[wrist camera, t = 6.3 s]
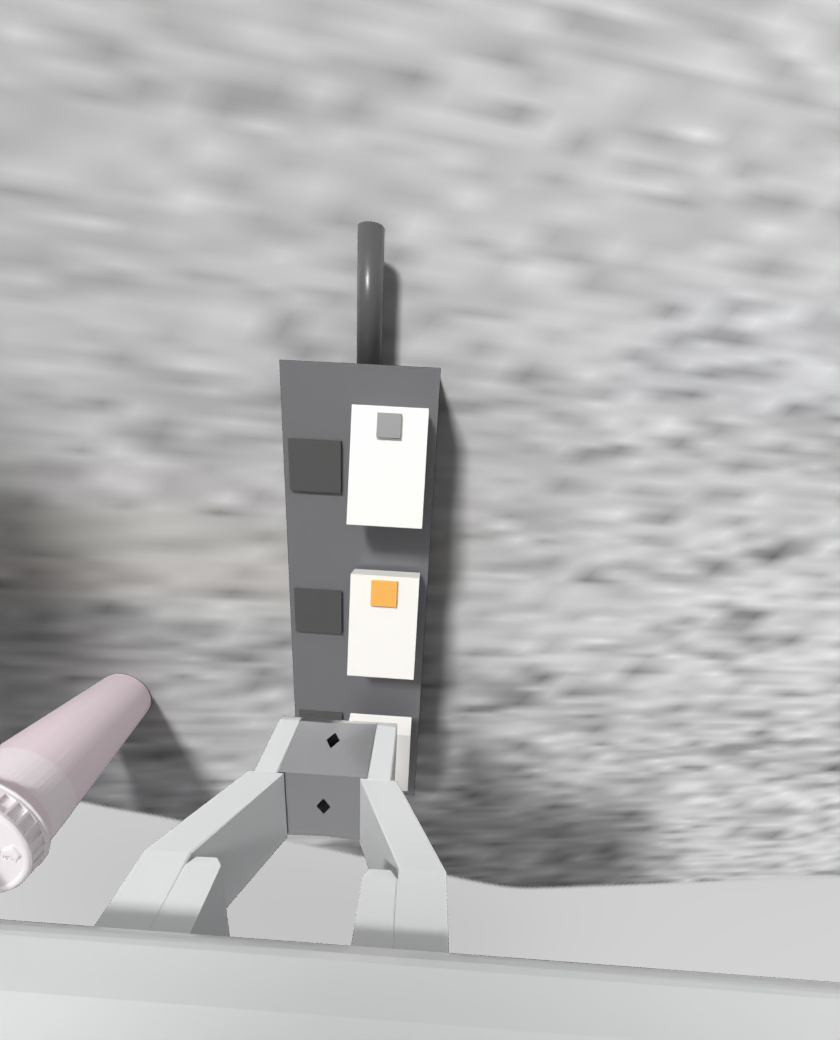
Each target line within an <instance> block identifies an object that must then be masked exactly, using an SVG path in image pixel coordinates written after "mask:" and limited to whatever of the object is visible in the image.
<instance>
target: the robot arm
mask: <svg viewBox="0 0 840 1040" xmlns="http://www.w3.org/2000/svg"><path fill="white" fill-rule="evenodd" d="M396 750H397V723H383V722H363V721H345V720H329V719H319V718H308V717H303V718H302V717H292V716H283V717H282V718H281V719H280V720H279V722H278V724H277V726H276V728H275V730H274V732H273V734H272V736H271V738H270V740H269V742H268V744H267V746H266V748H265V750H264V752H263V754H262V756H261V758H260V760H259V762H258V764H257V766H256V768H255V770H254V771H247V772H246V773H245V774H243V775H242V776H241V777H239V778H238V779H237V780H236V781H234V782H233V783H232V784H230V785H229V786H228V787H226V788H225V789H224V790H222V791H221V792H220V793H219V794H217V795H216V796H215V797H213V798H212V799H211V800H209V801H208V802H207V803H205V804H204V805H203V806H202V807H200V808H199V809H198V810H196V811H195V812H194V813H192V814H191V815H190V816H188V817H187V818H186V819H185V820H183V821H182V822H181V823H179V824H178V825H177V826H175V827H174V828H173V829H171V830H170V831H169V832H167V833H166V834H165V835H164V836H162V837H161V838H160V839H159V840H157V841H156V842H154V843H153V844H152V845H150V846H149V847H148V848H147V849H145V850H144V852H143V853H142V855H141V856H140V858H139V859H138V861H137V862H136V864H135V865H134V867H133V868H132V870H131V871H130V873H129V874H128V876H127V877H126V879H125V880H124V882H123V884H122V885H121V887H120V888H119V890H118V891H117V893H116V894H115V896H114V897H113V899H112V900H111V902H110V903H109V905H108V906H107V908H106V910H105V911H104V912H103V914H102V915H101V917H100V919H99V920H98V921H97V923H96V925H95V926H82V925H81V926H80V925H68V924H55V923H42V922H28V921H15V920H2V919H0V1040H840V982H829V981H815V980H802V979H789V978H775V977H762V976H746V975H735V974H722V973H709V972H695V971H682V970H669V969H654V968H642V967H628V966H615V965H601V964H588V963H576V962H575V963H574V962H562V961H549V960H536V959H523V958H522V959H521V958H508V957H495V956H483V955H469V954H456V953H449V942H448V910H447V876H446V871H445V869H444V867H443V866H442V864H441V862H440V860H439V858H438V856H437V854H436V853H435V851H434V849H433V847H432V845H431V843H430V841H429V840H428V838H427V836H426V834H425V832H424V830H423V828H422V827H421V825H420V823H419V821H418V819H417V817H416V815H415V814H414V812H413V810H412V808H411V806H410V804H409V802H408V801H407V799H406V797H405V795H404V793H403V791H402V789H401V788H400V786H399V784H398V782H397V781H395V769H396ZM287 834H288V835H315V836H330V837H340V838H349V839H359V840H360V844H361V847H362V850H363V853H364V856H365V859H366V862H367V865H368V868H369V870H368V871H367V872H366V873H365V874H364V875H363V876H362V882H361V888H360V894H359V901H358V907H357V913H356V919H355V925H354V932H353V938H352V943H351V946H349V945H335V944H322V943H309V942H295V941H282V940H267V939H255V938H241V937H230V934H229V926H228V919H227V910H226V908H227V907H228V906H229V905H230V904H231V902H232V901H233V900H234V899H235V898H236V897H237V895H238V894H239V893H240V892H241V891H242V890H243V888H244V887H245V886H246V885H247V884H248V882H249V881H250V880H251V879H252V878H253V877H254V876H255V874H256V873H257V872H258V871H259V870H260V868H261V867H262V866H263V865H264V864H265V863H266V862H267V860H268V859H269V858H270V857H271V856H272V855H273V853H274V852H275V851H276V850H277V849H278V848H279V846H280V845H281V844H282V843H283V842H284V841H285V839H286V838H287Z"/></svg>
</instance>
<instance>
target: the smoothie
mask: <svg viewBox="0 0 840 1040" xmlns="http://www.w3.org/2000/svg"><path fill="white" fill-rule="evenodd" d="M150 706H151V697H150V694H149V691H148V690H147V688H146V687H145V686H144V685H143V684H142V683H141V682H140V681H139V680H137V679H135V678H134V677H131V676H129V675H125V674H113V675H109V676H107V677H105V678H104V679H102V680H101V681H99V682H98V683H96V684H94V685H93V686H91V687H90V688H88V689H87V690H85V691H83V692H82V693H80V694H79V695H77V696H76V697H74V698H72V699H71V700H69V701H68V702H66V703H65V704H63V705H62V706H60V707H58V708H57V709H55V710H54V711H52V712H51V713H49V714H47V715H46V716H44V717H43V718H41V719H40V720H38V721H36V722H35V723H33V724H32V725H30V726H29V727H27V728H25V729H24V730H22V731H21V732H19V733H18V734H16V735H14V736H13V737H11V738H10V739H8V740H7V741H5V742H3V743H2V744H0V892H5V891H8V890H11V889H13V888H15V887H17V886H19V885H20V884H21V883H23V881H25V879H26V878H27V877H28V876H29V875H30V874H31V873H32V871H33V870H34V869H35V868H36V867H37V866H39V865H40V864H41V863H42V862H43V860H44V859H45V858H46V856H47V854H48V852H49V848H50V843H51V839H52V838H53V837H54V835H55V834H56V833H57V832H58V830H59V829H60V828H61V826H62V825H63V824H64V823H65V821H66V820H67V819H68V817H69V816H70V814H71V813H72V812H73V810H74V809H75V808H76V806H77V805H78V804H79V802H80V801H81V800H82V798H83V797H84V796H85V794H86V793H87V792H88V790H89V789H90V788H91V786H92V785H93V784H94V782H95V781H96V780H97V778H98V777H99V776H100V774H101V773H102V772H103V770H104V769H105V768H106V766H107V765H108V764H109V762H110V761H111V760H112V758H113V757H114V756H115V754H116V753H117V752H118V750H119V749H120V748H121V746H122V745H123V744H124V742H125V741H126V740H127V738H128V737H129V736H130V734H131V733H132V732H133V730H134V729H135V728H136V726H137V725H138V724H139V722H140V721H141V720H142V718H143V717H144V716H145V714H146V713H147V712H148V710H149V708H150Z"/></svg>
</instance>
